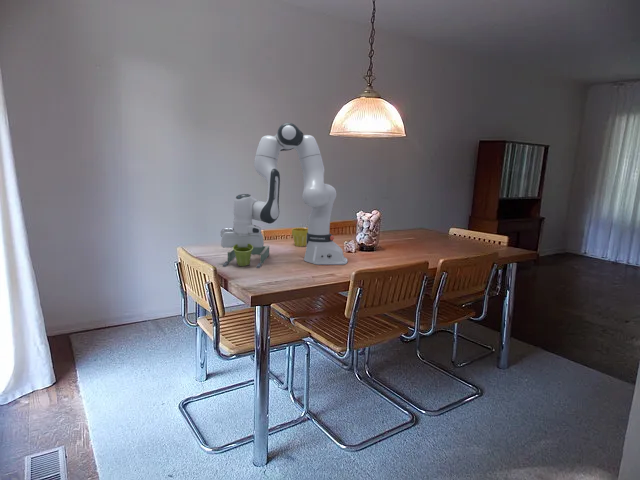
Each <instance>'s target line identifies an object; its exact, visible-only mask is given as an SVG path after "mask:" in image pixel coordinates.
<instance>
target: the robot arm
mask: <svg viewBox="0 0 640 480" xmlns="http://www.w3.org/2000/svg"><path fill="white" fill-rule="evenodd" d="M290 150H295V151H296V152H297V155H298V156H297V157H298V160H299V163H300V164H299V165H300V168H301V171H302V176H303V178H302V179H303V190H302V191H303V192H302V196H301V197H302V201H303V203H304V204H305V205H306V206H309V207H311V210H310V213H309V215H308V218H307V229H308V233H307V237H306V242H307V243H306V247H305V248H306V249H305V254H304V257H303V261H305V262H307V263H310V264H313V265H319V266H320V265H347V263H348V258H347V257H345V256H344V251H343V249H342V247H340V245H338V244H337V242H335V241H334V239H335V236H334V235H333V234H331V233H330V229H331V228H330V227H331V226H330V225H331V215H332V212H333V207H334V202H335V200H336V198H337V191H336V190H337V189H336V188H335V187H334V186H332V185H331V184H329V183H325V171H326V169H325V166H324V161H323V157H322V153H321V151H320V147H319V144H318V142H317V140H316V138H315V137H314V136H313V135H310V134H304V133H303V132H302V131H301V130H300V129H299V127H298V126H296V124H294V123H292V122H285V123H282V124H281V125H280V126H279V127H278V129H277V132H276V134H275V135H270V134H269V135H267V134H266V135H264V136H262V137H261V138H260V140H259V143H258V145H257V148H256V152H255V156H254V162H253V167H254V170H255V172H256V173H257V174H258V175H260V176H261V177H262V178H264V179H265V180H266V183H267V195H266V201H262V200H258V199H256V198H255V197H253V196H252V195H251V194H249V193H242V194H238V195H236V196H235V198H234V200H233V201H234V202H233V217H234V219H233V226H232V227H229V228H227V227H224V228H222V229H221V230H220V237H221V241H220V242H221V243H220V246H221V247H222V248H226V249H227V248H228V249H229V248H231V249H232V248H233V246H234V245H236V244H238V248H246V247H248V244H251V245H252V246H253V247H263V246H265V245H264V244H265V243H264V236H263V233H262V228H261V226H259V225H255V224H253V220H255V221H259V222H263V223H266V224H272V223H274V222H275V221H277V219H278V218H279V216H280V200H279V199H280V188H281V186H280V185H281V175H280V171H279V170H278V159H279V155H280V152H284V151H290Z"/></svg>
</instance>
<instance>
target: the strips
mask: <svg viewBox="0 0 640 480" xmlns="http://www.w3.org/2000/svg"><path fill="white" fill-rule="evenodd" d="M229 264H230V262H228V260H227V261H225V262H224V263H223V264H222V267H228V265H229ZM262 266H263V264H262V263H260V262H258V263H257V265H256V269H260V268H261V267H262Z"/></svg>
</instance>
